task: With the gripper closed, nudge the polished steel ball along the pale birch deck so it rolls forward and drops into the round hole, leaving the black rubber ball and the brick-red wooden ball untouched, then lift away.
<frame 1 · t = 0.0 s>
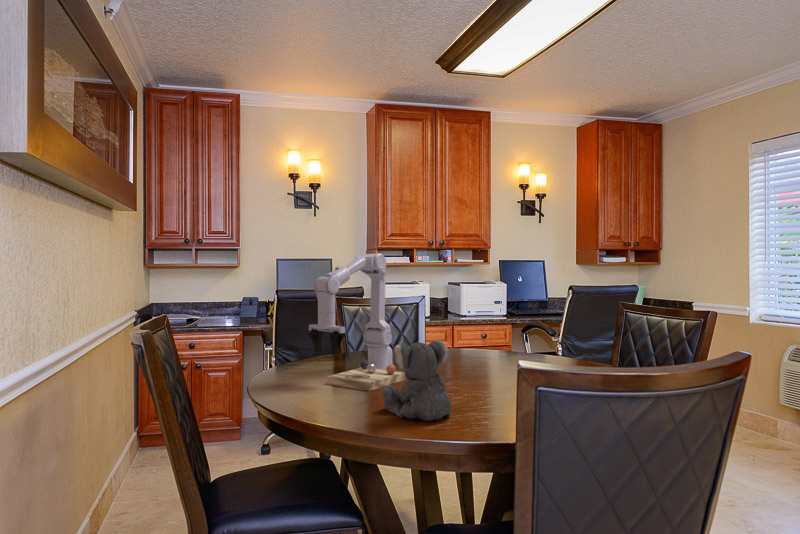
hand: (326, 353, 173), 10 cm above the table, fingers open, 7 cm apart
brick-red wooden ball: (390, 369, 176), point 4 cm above the table, touching deck
koala plush: (421, 414, 137), on the table
steel ball: (371, 368, 178), point 4 cm above the table, touching deck
black rubber ball: (364, 364, 185), point 4 cm above the table, touching deck
deck: (366, 381, 176), on the table
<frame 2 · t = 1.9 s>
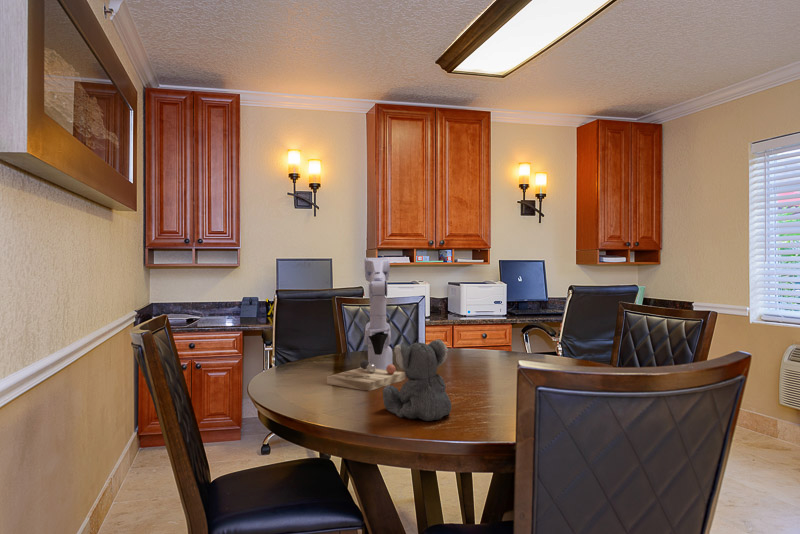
hand: (378, 354, 181), 8 cm above the table, fingers closed
nothing on the table moved.
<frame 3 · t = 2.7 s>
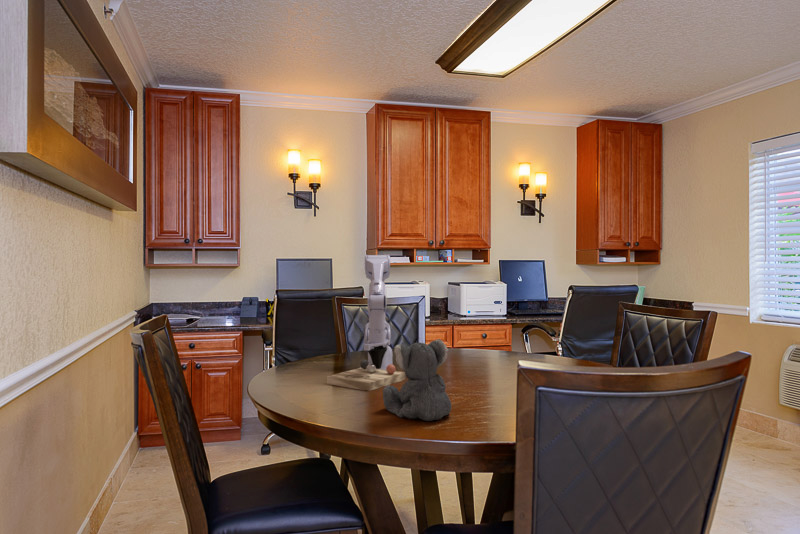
hand: (377, 368, 181), 4 cm above the table, fingers closed
nothing on the table moved.
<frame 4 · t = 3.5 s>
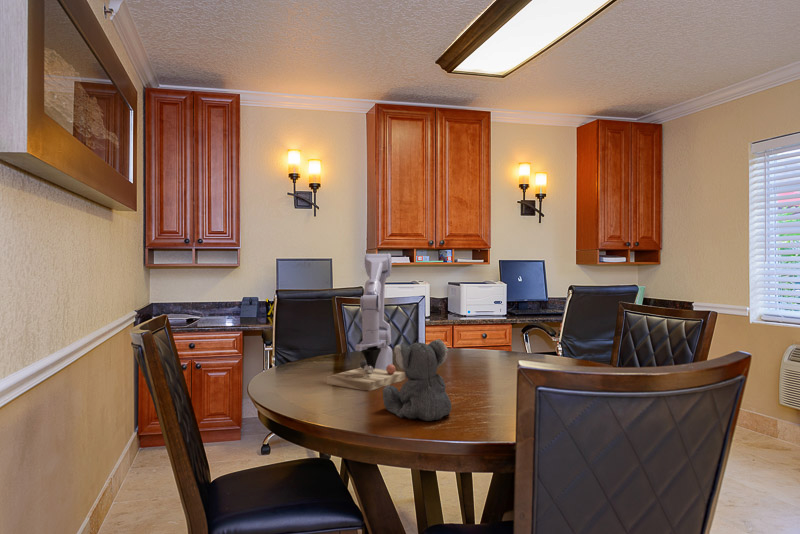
hand: (371, 369, 178), 4 cm above the table, fingers closed, pressing on steel ball
steel ball: (368, 369, 177), point 4 cm above the table, tilted 50°, touching deck, gripper
everything else where it was.
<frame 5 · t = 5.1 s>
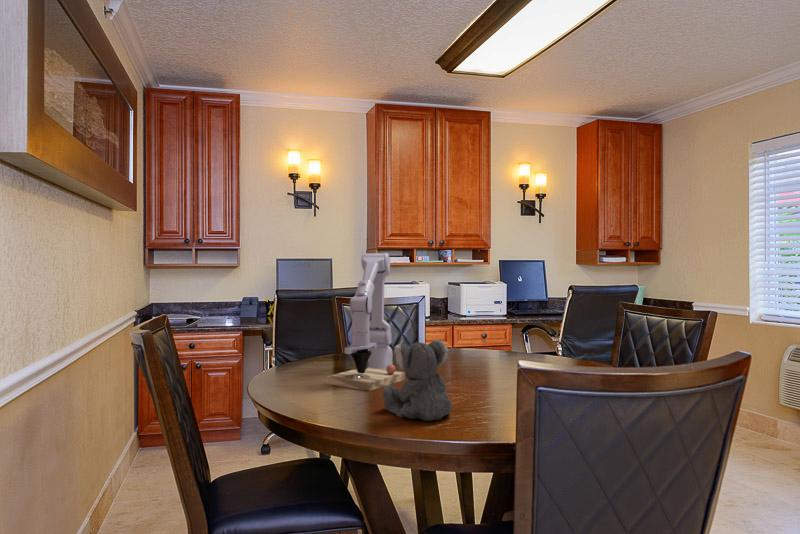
hand: (361, 372, 174), 4 cm above the table, fingers closed
steel ball: (357, 379, 171), point 2 cm above the table, tilted 25°
everything else where it was.
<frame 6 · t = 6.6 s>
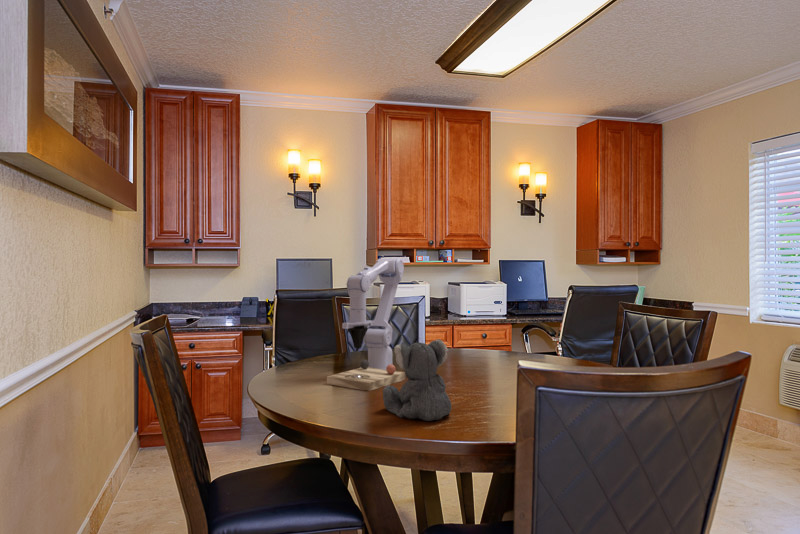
hand: (357, 347, 183), 10 cm above the table, fingers closed
steel ball: (357, 379, 172), point 2 cm above the table, tilted 37°
everything else where it was.
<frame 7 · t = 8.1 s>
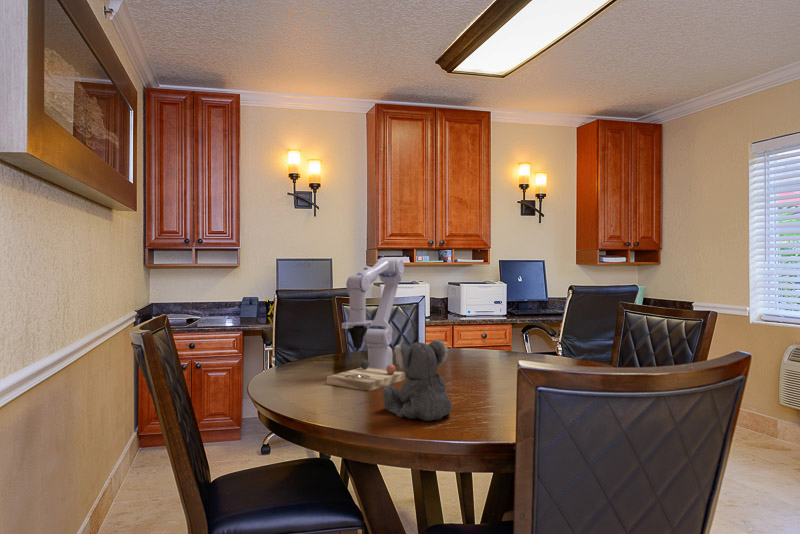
hand: (357, 347, 183), 10 cm above the table, fingers closed
steel ball: (357, 379, 172), point 2 cm above the table, tilted 51°
everything else where it was.
at the end: steel ball 0.3 cm from the target spot in the deck, point 1.6 cm above the deck's base; black rubber ball moved 0.0 cm from its start; brick-red wooden ball moved 0.0 cm from its start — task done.
